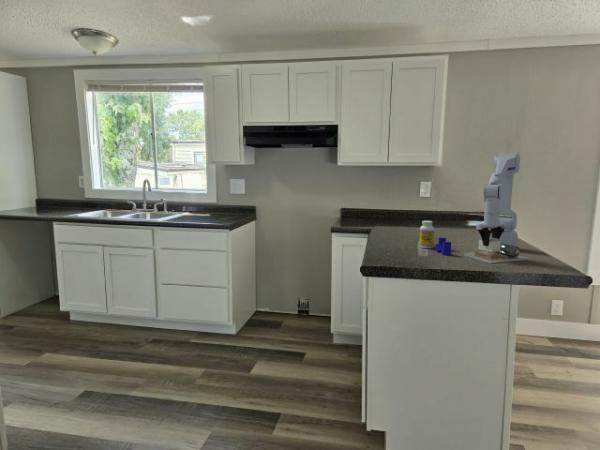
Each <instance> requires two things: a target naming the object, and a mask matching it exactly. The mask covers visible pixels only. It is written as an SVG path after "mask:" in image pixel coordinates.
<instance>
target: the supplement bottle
mask: <svg viewBox="0 0 600 450" xmlns="http://www.w3.org/2000/svg"><path fill="white" fill-rule="evenodd" d="M421 224H422V225H421V226H420V228H419V245H418V246H419V247H420V248H421V249H433V248H435V244H434V243H435V227H434V226H433V220H422V221H421Z"/></svg>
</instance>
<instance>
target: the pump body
mask: <svg viewBox="0 0 600 450" xmlns="http://www.w3.org/2000/svg"><path fill="white" fill-rule="evenodd" d="M478 250H480V251H490V252H495V251H500V239H497V238H492V236H490V238H489V245H488V246H483V242H482V238H481V236H480V237H478Z"/></svg>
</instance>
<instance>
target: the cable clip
mask: <svg viewBox="0 0 600 450" xmlns="http://www.w3.org/2000/svg"><path fill="white" fill-rule="evenodd" d="M451 248H452V242H451V241H447V238H446V237H438V243H435V244H434V250H435V251H436V253H441V255H443V256H451V255H452V249H451Z"/></svg>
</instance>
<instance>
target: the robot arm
mask: <svg viewBox="0 0 600 450" xmlns="http://www.w3.org/2000/svg"><path fill="white" fill-rule="evenodd" d="M520 164H521V155H520V153H519V152H516V153H515V152H514V153H496V154H495V155H494V157H493V165H494V169H495V172H493V173H492V174H491V176H490V178H489V181H488V184H486V185H484V187H483V202H484V217H483V222H482V223H479V224H476V226H475V230H477V232H478V234H479V235H480V237H481V238H482V242H483V246H488V245H489V238H490V237H491V238H497V239H500V243H504V244H508V245H513V246H517V247H518V241H519V240H518V237H519V235H518V232H517V231H516V229H517V224H518V219H517V216H518V215H517V212H515V211H513V210H512V209H511V208H512V207H511V206H512V198H513V197H512V196H513V195H512V194H513V187H514V186H513V183H514V176H515V174H516V173H519V171H520V167H521V166H520Z"/></svg>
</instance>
